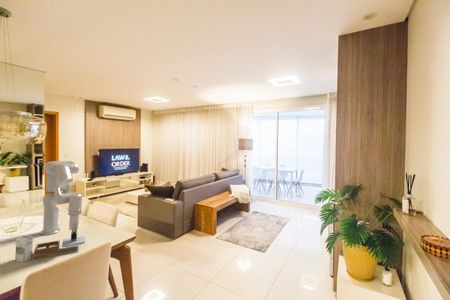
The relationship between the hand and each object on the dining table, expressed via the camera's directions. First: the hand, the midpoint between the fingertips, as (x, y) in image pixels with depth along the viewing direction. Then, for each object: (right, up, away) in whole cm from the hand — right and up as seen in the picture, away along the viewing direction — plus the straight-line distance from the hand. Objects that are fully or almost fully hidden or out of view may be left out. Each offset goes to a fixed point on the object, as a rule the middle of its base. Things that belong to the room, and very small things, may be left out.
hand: (73, 237), depth 147 cm
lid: (0, -3, 0) cm, 3 cm away
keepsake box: (-12, -8, -8) cm, 16 cm away
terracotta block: (-10, -7, -6) cm, 14 cm away
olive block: (-14, -7, -9) cm, 18 cm away
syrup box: (-20, -8, -16) cm, 27 cm away
